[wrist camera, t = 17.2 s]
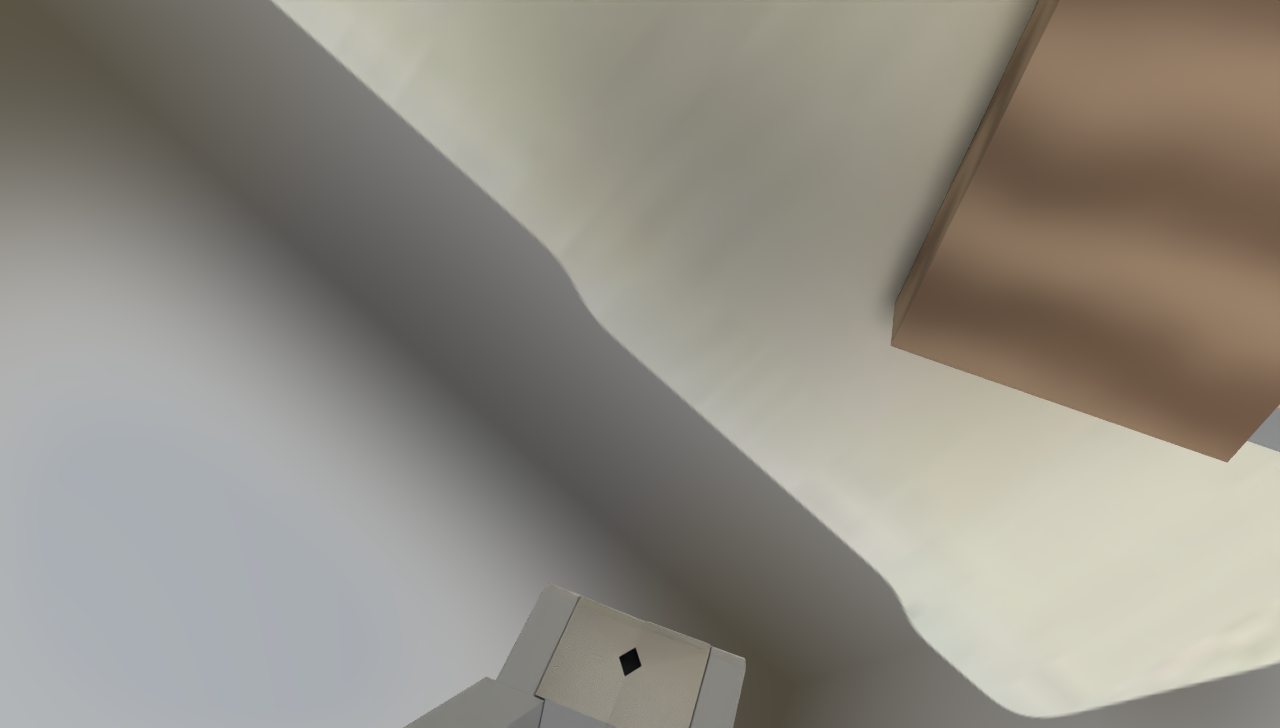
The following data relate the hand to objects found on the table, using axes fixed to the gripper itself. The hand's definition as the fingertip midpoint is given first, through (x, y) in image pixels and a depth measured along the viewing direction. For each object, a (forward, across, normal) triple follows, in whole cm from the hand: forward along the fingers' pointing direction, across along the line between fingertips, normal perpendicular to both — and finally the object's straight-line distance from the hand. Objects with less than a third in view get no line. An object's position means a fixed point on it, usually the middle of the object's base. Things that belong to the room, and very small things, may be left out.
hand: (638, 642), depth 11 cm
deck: (+27, -13, -2) cm, 30 cm away
